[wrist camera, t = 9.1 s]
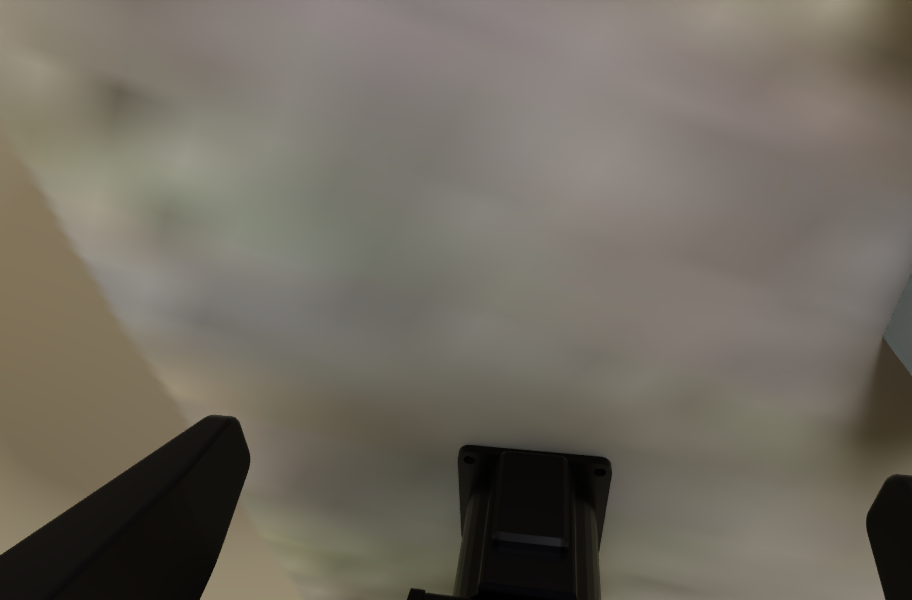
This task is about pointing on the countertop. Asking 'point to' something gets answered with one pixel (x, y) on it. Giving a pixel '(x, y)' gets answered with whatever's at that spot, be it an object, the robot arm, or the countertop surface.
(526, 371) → the countertop surface
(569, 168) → the countertop surface
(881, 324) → the countertop surface
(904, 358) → the slate-blue block
